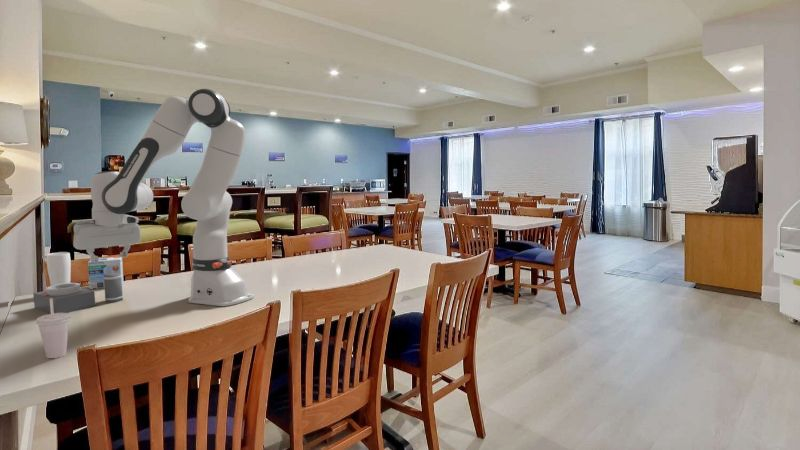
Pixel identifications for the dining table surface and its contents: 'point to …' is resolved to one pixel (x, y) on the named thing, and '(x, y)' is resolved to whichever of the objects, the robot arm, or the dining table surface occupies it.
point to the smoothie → (54, 332)
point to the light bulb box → (103, 270)
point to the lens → (113, 288)
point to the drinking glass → (59, 267)
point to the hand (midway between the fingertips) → (109, 259)
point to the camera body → (64, 298)
